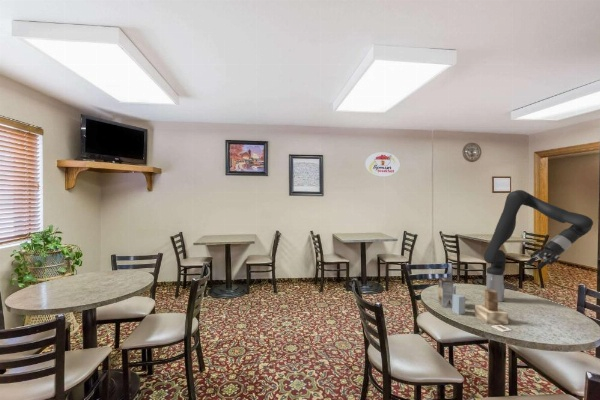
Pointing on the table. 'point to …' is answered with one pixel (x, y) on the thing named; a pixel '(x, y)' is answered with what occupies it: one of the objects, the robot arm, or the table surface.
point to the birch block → (491, 315)
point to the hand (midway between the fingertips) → (533, 265)
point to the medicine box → (454, 289)
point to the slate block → (458, 304)
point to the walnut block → (491, 300)
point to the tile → (501, 328)
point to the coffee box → (445, 292)
